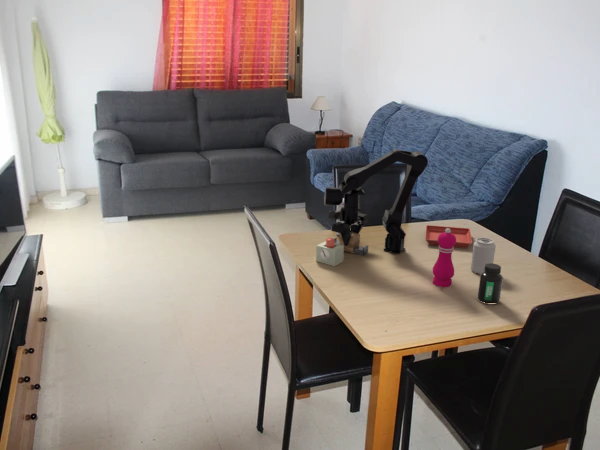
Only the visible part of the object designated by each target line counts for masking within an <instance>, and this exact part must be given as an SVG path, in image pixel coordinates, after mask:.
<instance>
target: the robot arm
mask: <svg viewBox="0 0 600 450" xmlns="http://www.w3.org/2000/svg"><path fill="white" fill-rule="evenodd" d="M397 162H400V163H401V164H405V165H406V172H405V176H404V178H403V180H402V183H401V185H400V188H399V190H398V193H397V196H396V197H395V200H394V203H393V205H392V207H391V208H390V209H389V210H388V209H384V210H385V211H384V214H383V217H381V220H382V226H383V227H384V230H385V232H387V234H386V237H385V238H384V248H383V251H385V252H388V253H393V254H395V255H396V254H397V255H399V254H401V253H402V252H404V251H406V248H405V238H406V235H407V234H406V231H405V230H404V229H403V227H402V223H403V215H404V211H405V208H406V206H407V203H408V201H409V199H410V196H411V194H412V191H413V189H414V186H415V185H416V182H417V180H418V178H419V177H420V176H421V175H422V174H423V172H424V171H425V170H426V168H427V166H428V163H429V160H428V158H427V156H426V155H424V153H422V152H420V151H418V150H417V151H413V152H412V151H408V150H403V149H402V150H401V149H398V148H393V149H392V150H391V151H389V152H388V153H386V154H384V155H382V156H381V157H379V158H377V159H375V160H373V161H372V162H370V163H369V164H367V165H365V166H363V167H358V168H355V169H353V170H349V171H347V172H346V173H345V174H344V177H343V180H342V182H340V184H339V185H338V187H331V186H330V187H329V186H326V187H325V190H324V194H323V202H324V206H337V205H340V204H341V203H342V202H343V198H344V207H342V208H341V210H337V209H336V210H334V209H333V210H330V211H328V214H327V215H328V216H327V217H328V219H329V220H330V221H331V222H333V221H336V220H338V219H340V221H344V223H342V222H335V223H333V224H332V225H331V227H330V229H331V232H334V233H336V232H338V233H340V234H341V236H342V239H343V243H344V246H347V245H348V243H349V240H350V237H351V235H352V232H354V233H358V234H360V232H361V231H362V229H363V227H364V226H365V224H367V223H369V220H370V218H369V216H368V215H367V214H366V213H361V210H362V207H360V195H362V196H364V195H366V193H365V191H364V190H363V189H362V187H361V186H363V185H364V184H365V183H366V182H367V181H368V180H369V179H370V178H372V177H373V176H375V175H377V174H379V173H380V172H382V171H383V170H385V169H386V168H388V167H390V166H393V165H394V164H395V163H397ZM362 222H363V223H362Z"/></svg>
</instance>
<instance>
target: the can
mask: <svg viewBox="0 0 600 450" xmlns="http://www.w3.org/2000/svg"><path fill="white" fill-rule="evenodd" d="M472 247H473V248H472V254H471V262H470V270H472V272H473V271H474V272H473V273H475V272H476V273H475V274H477V273H479V274H478V275H481V274H482V273H483V272H484V269H485V265H486V264H488V263H493V264H494V260H495V253H496V244H495V241H494V239H492V238H489V237H477V238H476V239H475V241H474V242H473V246H472Z"/></svg>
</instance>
